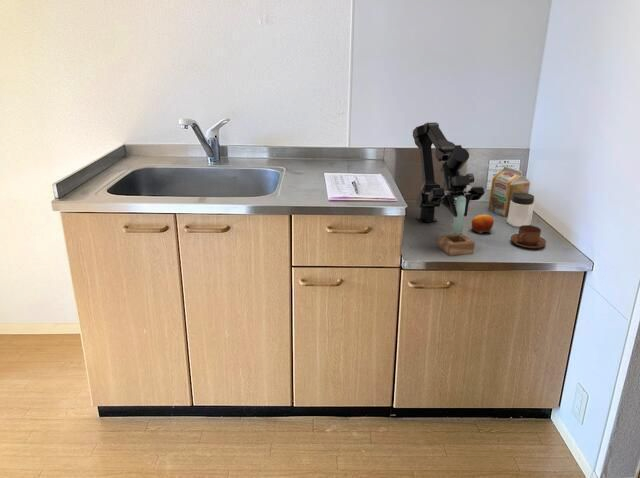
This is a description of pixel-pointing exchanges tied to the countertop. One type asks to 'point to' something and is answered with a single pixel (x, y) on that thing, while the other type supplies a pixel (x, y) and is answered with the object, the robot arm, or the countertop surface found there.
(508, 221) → the jar
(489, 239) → the countertop surface
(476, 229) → the fruit
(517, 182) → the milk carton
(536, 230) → the cup and saucer
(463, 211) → the dowel
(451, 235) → the wooden square socket block
